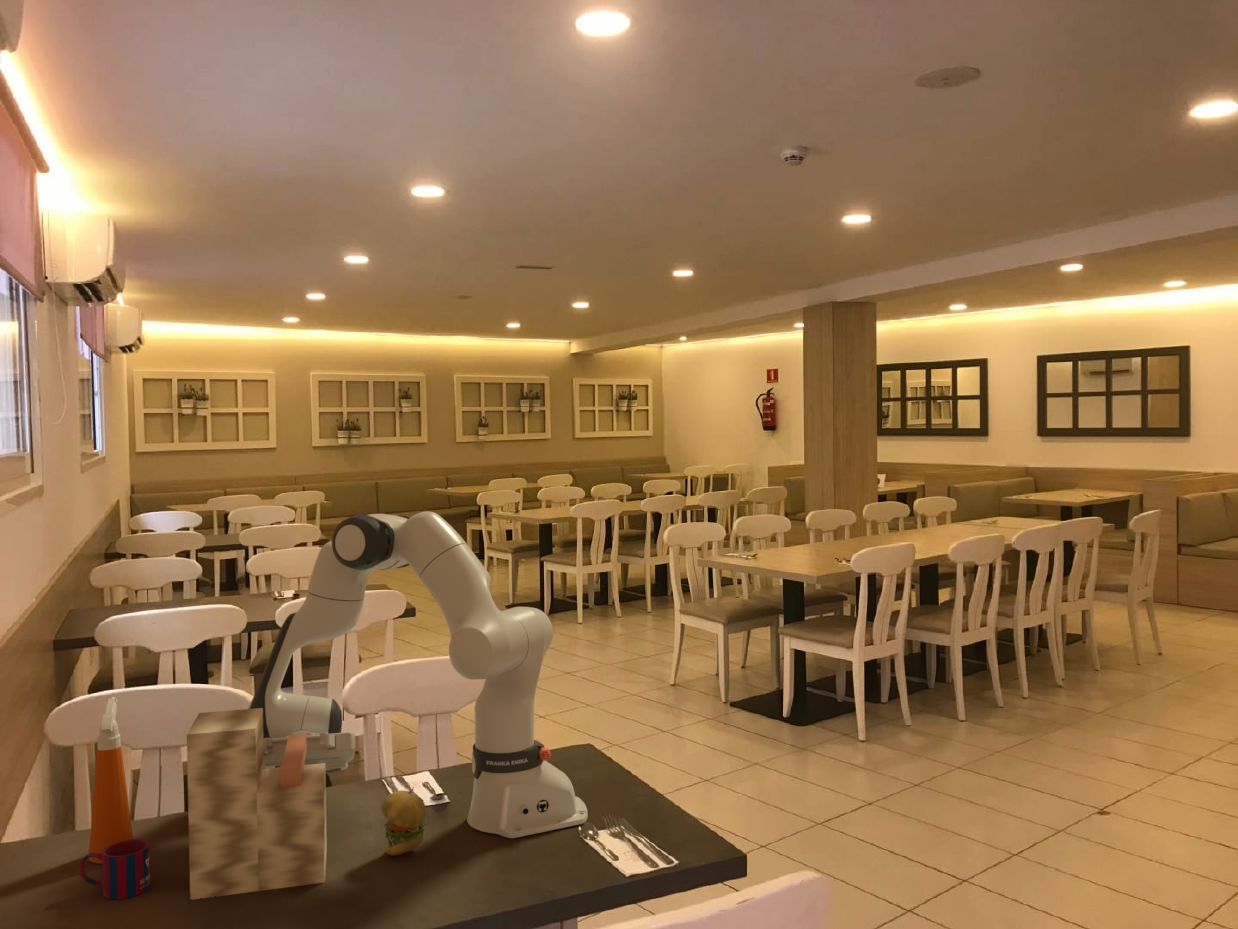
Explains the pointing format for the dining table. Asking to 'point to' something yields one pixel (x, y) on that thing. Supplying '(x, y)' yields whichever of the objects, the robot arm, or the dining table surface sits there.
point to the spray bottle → (109, 788)
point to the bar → (293, 760)
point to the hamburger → (403, 821)
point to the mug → (122, 869)
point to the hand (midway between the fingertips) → (296, 740)
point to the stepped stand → (249, 812)
